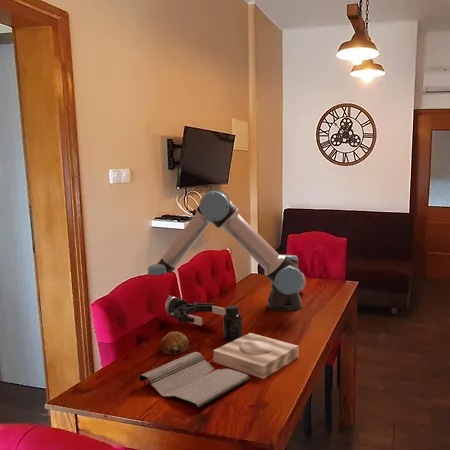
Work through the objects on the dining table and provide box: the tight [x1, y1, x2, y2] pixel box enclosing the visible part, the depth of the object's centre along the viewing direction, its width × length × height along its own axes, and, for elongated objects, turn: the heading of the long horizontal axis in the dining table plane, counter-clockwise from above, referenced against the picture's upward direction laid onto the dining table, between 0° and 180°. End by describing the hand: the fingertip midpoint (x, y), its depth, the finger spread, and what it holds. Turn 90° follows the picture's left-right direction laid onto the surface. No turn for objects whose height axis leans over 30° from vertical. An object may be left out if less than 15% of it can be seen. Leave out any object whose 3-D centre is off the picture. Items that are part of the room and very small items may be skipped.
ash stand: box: [212, 332, 300, 380], centre depth 161 cm, size 20×20×4 cm
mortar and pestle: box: [298, 272, 307, 293], centre depth 237 cm, size 12×12×12 cm
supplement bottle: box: [222, 304, 243, 342], centre depth 180 cm, size 7×7×12 cm
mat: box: [138, 351, 251, 409], centre depth 145 cm, size 23×24×5 cm
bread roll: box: [160, 331, 190, 355], centre depth 171 cm, size 10×10×8 cm
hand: (213, 316), depth 185 cm, fingers open, 13 cm apart
